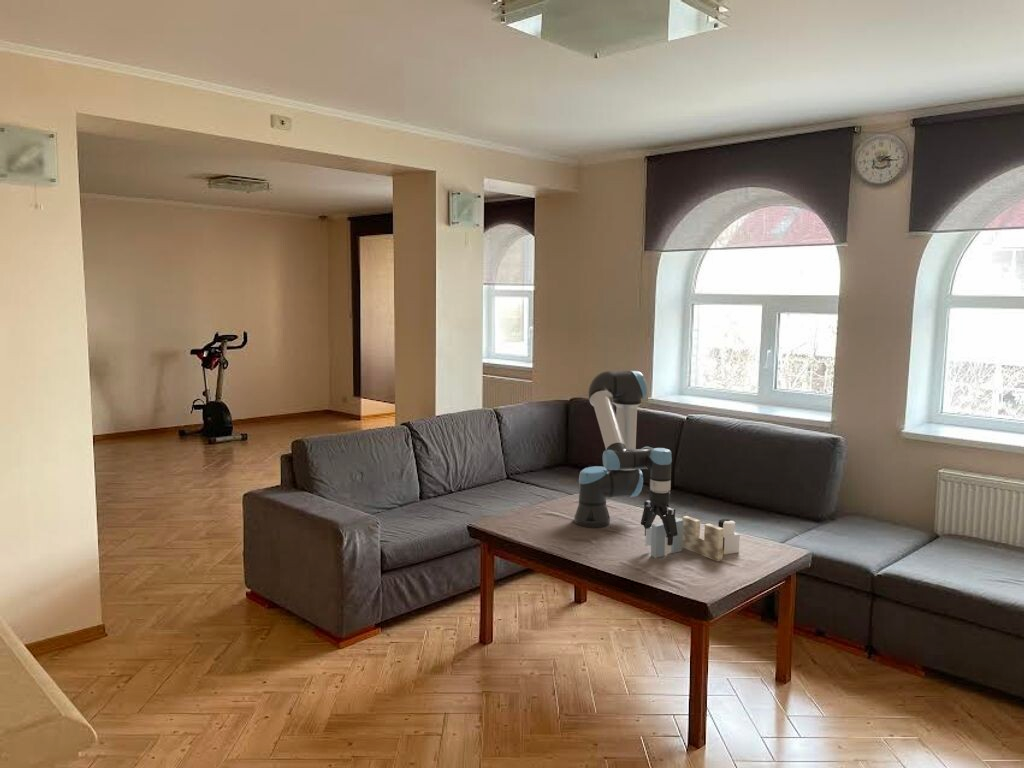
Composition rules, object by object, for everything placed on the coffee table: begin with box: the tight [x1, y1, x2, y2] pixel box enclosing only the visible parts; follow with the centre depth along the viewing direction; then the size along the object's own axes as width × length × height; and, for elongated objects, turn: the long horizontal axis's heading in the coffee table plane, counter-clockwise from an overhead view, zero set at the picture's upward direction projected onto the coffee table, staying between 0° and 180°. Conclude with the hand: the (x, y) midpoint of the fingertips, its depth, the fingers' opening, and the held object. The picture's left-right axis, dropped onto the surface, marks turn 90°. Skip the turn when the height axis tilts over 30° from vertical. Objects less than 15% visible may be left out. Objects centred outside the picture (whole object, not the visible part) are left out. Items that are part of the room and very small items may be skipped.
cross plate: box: [650, 518, 683, 559], centre depth 277 cm, size 14×2×12 cm, turn 123°
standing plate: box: [681, 515, 724, 562], centre depth 278 cm, size 18×2×12 cm, turn 33°
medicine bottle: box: [717, 518, 741, 556], centre depth 281 cm, size 7×7×12 cm
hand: (658, 549), depth 275 cm, fingers open, 9 cm apart
